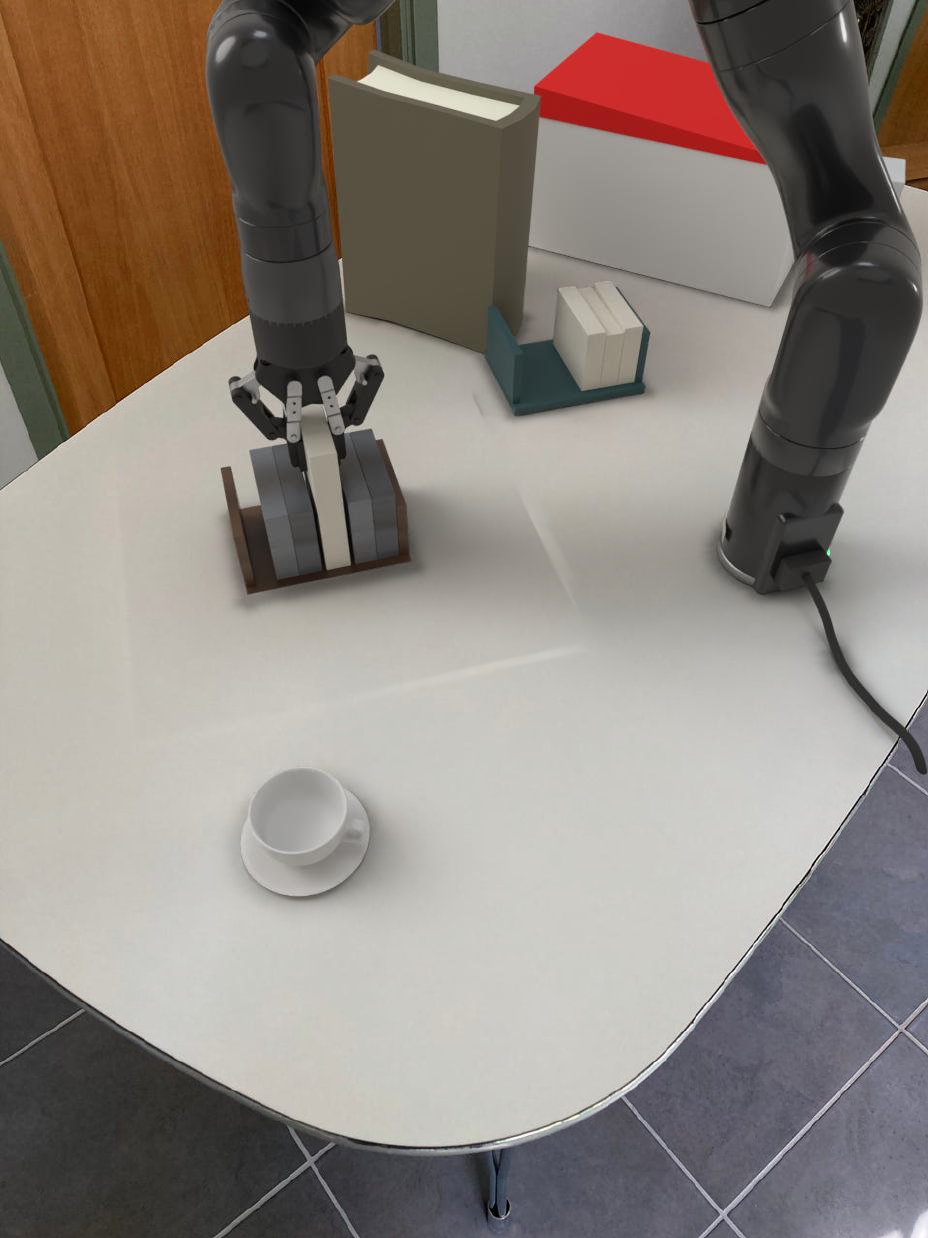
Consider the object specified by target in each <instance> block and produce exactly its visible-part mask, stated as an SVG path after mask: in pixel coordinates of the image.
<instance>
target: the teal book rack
mask: <svg viewBox="0 0 928 1238" xmlns="http://www.w3.org/2000/svg"><path fill="white" fill-rule="evenodd" d="M556 291H557V292H556V304H555V305H556V306H555V315H554V327H553V338H552V339H547V340H540V341H534V342H529V343H523V344H518V342H517V340H516V338H515V336H513V335H512V333H511V331H510V329H509V328H508V326H507V324H506V322H505V320H504V319H503V317H502V315H501V313H500V312H499V310H498V308H497V306H490V307H488V338H487V350H486V351H485V354H484V359H485V361H486V364H487V365H488V366H489V369H490V370H491V373H492V375H493V376H494V379H495V380H496V382H497V384H498V387H499V388H500V390H501V392H502V394H503V396H504V398H505V399H506V402H507V403H508V405H509V407H510V409H511V411H512V413H513V415H514V416H515V417H516V416H522V415H529V414H534V413H539V412H545V411H550V410H556V409H562V408H568V407H573V406H578V405H579V406H580V405H584V404H590V403H595V402H601V401H607V400H613V399H617V398H623V397H624V398H625V397H628V396H635V395H641V394H644V393H645V392H646V385H645V383H644V382H643V379H644V373H645V368H646V367H645V366H646V363H647V362H646V360H647V354H648V351H649V350H648V349H649V344H650V337H651V330H650V329H649V328H648V327H647V326H646V323H645V322H644V321H643V320H642V318H641V317H640V316H639V315H638V313H637V312H636V310H635V309H634V308H633V306H632V305H631V303H630V302H629V300H628V299H627V298H626V296H625V295H624V294H623V293H622V291H621V290H620V288H619V287H618V286H615V284H614V283H613V281H611V280H603V281H596V282H593V283H592V286H589V287H583V288H577V287H576V285H569V286H565V287H559V288H557V290H556Z"/></svg>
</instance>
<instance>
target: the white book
mask: <svg viewBox="0 0 928 1238" xmlns="http://www.w3.org/2000/svg"><path fill="white" fill-rule="evenodd" d="M301 435H302V439H303V443H304V450H305V456H306V462H307V468H308V471H306V472H303V475H304V479H305V483H306V487H307V490H308V494H309V498H310V502H311V505H312V509H313V514H314V521H315V527H316V532H317V536H318V539H319V543H320V547H321V551H322V554H323V558H324V562H325V566H326V569H327V570H330V569H335V568H340V567H345V566H350V565H351V561H350V553H349V545H348V537H347V529H346V521H345V513H344V506H343V498H342V490H341V482H340V474H339V466H338V458H337V452H336V449H335V445H334V442H333V439H332V436H331V432H330V429H329V426H328V423H327V415H326V412H325V409H324V406H323V404H310V405H308V406H305V407H303V408H302V421H301Z"/></svg>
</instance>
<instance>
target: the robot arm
mask: <svg viewBox="0 0 928 1238" xmlns="http://www.w3.org/2000/svg"><path fill="white" fill-rule="evenodd" d="M395 1H396V0H222V1H221V3H220V4H219V5H218V7H217V8H216V10H215V12H214V14H213V16H212V17H211V20H210V23H209V25H208V28H207V32H206V40H205V65H204V66H205V68H204V69H205V70H204V73H205V84H206V92H207V97H208V103H209V107H210V111H211V117H212V120H213V121H212V122H213V125H214V129H215V133H216V137H217V141H218V143H219V147H220V151H221V155H222V158H223V162H224V165H225V168H226V171H227V174H228V177H229V190H230V199H231V207H232V211H233V216H234V222H235V227H236V232H237V238H238V243H239V252H240V269H241V278H242V289H243V293H244V295H245V300H246V304H247V309H248V314H249V320H250V325H251V329H252V337H253V342H254V347H255V351H256V357H255V359H254V362H253V366H252V368H253V369H252V370H253V371H251V372H250V373H248V374H246V375H245V376H243V377H242V378H241V377H240V376H238V375H233V376H231V377H230V378H229V379H228V381H227V382H228V388H229V392H230V397H231V402H232V403H233V404H234V405H235V406H236V407H237V408H238V409H239V410H240V411H241V413H243V415H244V416H245V417H246V418H247V419H248V421H250V423H252V424H253V426H255V427H256V429H257V430H258V431H259V432H260V433H261V434H262V435H263V436H264V437H265V439H267V440H268V441H276V440H278V439H283V440H285V441H286V443H287V447H288V453H289V457H290V461H291V464H292V466H293V467H294V468H296V467H299V468H300V472H303V473H304V472H306V471H308V468H307V462H306V456H305V450H304V443H303V439H302V435H301V421H302V408H303V407H305V406H308V405H310V404H322V405H323V409H324V412H325V415H326V419H327V423H328V426H329V429H330V432H331V436H332V439H333V442H334V445H335V449H336V452H337V458H338V466H339V465H341V462H340V459H345V457H346V454H347V453H346V445H345V436H344V433H345V432H346V429H348V428H349V427H350V426H354V427H360V426H361V425H362V424H364V422H365V420H366V418H367V415H368V413H369V411H370V409H371V407H372V405H373V402H374V401H375V398H376V396H377V394H378V391H379V389H380V387H381V385H382V383H383V381H384V378H385V372H384V369H383V366H382V364H381V361H380V360H379V357H378V355H376V354H373V353H372V354H368V355H367V356H360V355H356V354H354V351H353V348H352V347H351V346H350V345H349V343H348V342H349V341H348V334H347V323H346V314H345V313H346V312H345V303H344V295H343V286H342V277H341V268H340V267H341V266H340V261H339V256H338V252H337V249H336V244H335V240H334V233H333V232H334V231H333V224H332V223H333V222H332V213H331V204H330V197H329V190H328V185H327V184H328V183H327V180H326V176H325V172H324V169H323V153H322V152H323V151H322V132H321V117H320V115H321V114H320V113H321V112H320V102H319V99H320V98H319V88H318V77H317V71H316V67H317V66H318V64H319V63H320V62H321V60H322V59H323V58H324V57H325V56H326V55H327V53H328V52H329V51H330V50H331V49H332V48H333V47H334V46H335V45H336V44H337V43H338V42H339V41H340V39H341V38H343V36H345V35H346V33H347V32H348V31H349V30H351V28H352V27H353V26H360V27H361V26H363V27H364V26H368V25H370V24H372V23H373V22H375V21H376V20H378V18H380V17H381V16H382V15H383V14H384V13H385V12H386V11H387V10H388V9H389V8H390V7H391V6H392V5H393V3H395ZM687 1H688V5H689V7H690V11H691V14H692V18H693V21H694V24H695V27H696V28H697V32H698V36H699V38H700V41H701V43H702V47H703V50H704V52H705V56H706V59H707V60H708V61H707V62H708V63H709V64H710V66H711V70H712V72H713V75H714V77H715V80H716V82H717V84H718V87H719V89H720V91H721V93H722V95H723V97H724V99H725V101H726V103H727V105H728V107H729V108H730V110H731V112H732V114H733V115H734V117H735V118H736V120H737V122H738V123H739V125H740V126H741V128H742V129H743V131H744V132H745V133H746V135H747V136H748V138H749V139H750V140H751V142H752V143H753V145H754V146H755V147H756V149H757V150H758V152H759V153H760V155H761V156H762V158H763V159H764V161H765V162H766V164H767V166H768V168H769V169H770V171H771V173H772V176H773V178H774V180H775V183H776V186H777V189H778V192H779V195H780V198H781V201H782V205H783V209H784V212H785V216H786V221H787V225H788V229H789V234H790V238H791V243H792V249H793V255H794V264H793V265H794V279H793V286H792V293H791V302H790V306H789V310H788V314H787V318H786V321H785V325H784V329H783V331H782V335H781V339H780V343H779V346H778V350H777V352H776V355H775V359H774V362H773V366H772V369H771V373H770V374H769V375H768V376H767V378H766V380H765V383H764V386H763V389H762V394H761V397H760V399H759V400H760V401H759V403H758V407H757V410H756V414H755V418H754V421H753V425H752V427H751V431H750V433H749V436H748V437H749V438H748V440H747V444H746V447H745V448H746V449H745V451H744V454H743V455H744V456H743V459H742V461H741V465H740V468H739V472H738V475H737V479H736V482H735V486H734V490H733V493H732V497H731V500H730V503H729V507H728V510H725V511H724V514H723V518H722V522H721V523H722V524H721V525H722V526H721V527H722V530H721V533H720V535H719V537H718V542H717V547H716V549H717V550H716V552H717V556H718V559H719V560H720V563H721V565H722V566H723V567H724V568H725V570H726V571H727V572H728V573H729V574H731V576H733V577H734V578H735V579H737V580H739V581H741V582H743V583H744V584H746V585H749V586H751V587H752V588H754V590H755V592H756V593H757V594H759V595H763V594H767V593H773V592H777V591H781V592H783V591H784V592H785V591H787V590H792V589H797V588H801V587H805V586H806V588H807V590H808V592H809V594H810V596H811V598H812V600H813V603H814V604H815V607H816V609H817V612H818V614H819V617H820V619H821V623H822V627H823V630H824V633H825V636H826V640H827V642H828V645H829V648H830V651H831V654H832V656H833V659H834V661H835V663H836V665H837V668H838V669H839V671H840V673H841V674H842V676H843V678H844V679H845V681H846V682H847V683H848V685H849V686H850V687H851V688H852V690H853V691H854V692H855V693H856V695H857V696H858V697H859V698H860V699H861V700H862V701H863V702H864V703H865V705H866V706H867V707H868V708H869V710H870V711H871V712H872V713H873V714H874V715H875V716H876V717H877V718H878V719H879V720H880V721H881V722H882V723H884V724H885V725H886V726H887V727H888V728H889V729H891V730H892V731H893V732H894V733H895V734H896V735H897V736H898V737H899V738H900V739H901V740H902V741H903V743H904V744H905V745H906V747H907V749H908V750H909V752H910V755H911V757H912V759H913V762H914V766H915V769H916V772H918V774H920V775H923V776H926V775H927V774H928V767H927V762H926V759H925V756H924V754H923V753H924V752H923V751H922V749H921V747H920V744H919V743H918V741H917V740H916V738H915V737H914V736H913V735H912V733H910V732H909V730H908V729H907V728H906V727H905V726H904V725H902V724H901V722H899V721H898V720H897V719H896V718H894V716H892V715H891V714H890V713H889V712H888V711H887V710H885V708H884V707H882V706H881V704H879V702H878V701H877V700H876V699H875V698H874V697H873V695H872V694H871V693H870V692H869V691H868V689H867V688H866V687H865V686H864V685H863V684H862V682H860V681H859V679H858V678H857V676H856V675H855V673H854V672H853V670H852V669H851V667H850V665H849V664H848V662H847V660H846V658H845V656H844V654H843V651H842V648H841V646H840V643H839V640H838V637H837V635H836V631H835V627H834V624H833V620H832V617H831V615H830V611H829V609H828V606H827V605H826V602H825V600H824V597H823V596H822V594H821V592H820V589H819V588H818V586H817V584H819V583H823V582H824V580H825V578H826V576H827V574H828V571H829V569H830V566H831V564H832V562H833V561H832V558H831V557H830V554H831V551H830V547H831V545H832V542H833V540H834V538H835V535H836V534H837V533H836V532H837V530H838V528H839V525H840V523H841V521H842V518H843V517H844V514H845V509H844V507H842V505H841V503H840V501H841V498H842V496H843V494H844V491H845V489H846V486H847V483H848V481H849V479H850V476H851V474H852V471H853V469H854V466H855V464H856V461H857V459H858V457H859V454H860V452H861V449H862V447H863V444H864V442H865V439H866V437H867V434H868V432H869V431H870V428H871V426H872V423H873V421H874V420H875V419H876V418H877V417H878V416H879V415H880V413H881V412H882V411H883V409H884V408H885V406H886V404H887V402H888V400H889V398H890V395H891V393H892V391H893V388H894V386H895V384H896V382H897V380H898V377H899V376H900V373H901V371H902V368H903V367H904V364H905V362H906V360H907V358H908V355H909V353H910V350H911V348H912V345H913V344H914V341H915V337H916V336H917V332H918V330H919V326H920V324H921V320H922V316H923V311H924V288H923V287H924V286H923V263H922V258H921V250H920V247H919V244H918V242H917V239H916V237H915V234H914V232H913V229H912V227H911V224H910V223H909V220H908V217H907V215H906V212H905V211H904V208H903V206H902V203H901V201H900V199H899V198H898V196H897V194H896V191H895V189H894V186H893V183H892V181H891V178H890V175H889V173H888V170H887V167H886V165H885V162H884V159H883V157H884V156H883V153H882V151H881V148H880V145H879V141H878V138H877V134H876V130H875V125H874V117H873V111H872V103H871V102H872V101H871V95H870V94H871V93H870V87H869V86H870V85H869V76H868V71H867V65H866V59H865V58H866V57H865V52H864V47H863V41H862V37H861V32H860V28H859V27H860V26H859V22H858V18H857V11H856V7H855V3H854V0H687ZM352 373H353V375H354V377H355V381H354V383H353V386H352V388H351V390H350V392H349V394H348V397H347V398H346V401H345V404H344V405H342V406H340V404H339V401H338V397H337V395H338V394H339V393H340V391H341V389H342V388H343V386H344V385H345V383H346V382H347V380H348V379H349V377H350V376H351V374H352ZM260 387H262V388H264V389H265V390H267V391H268V393H270V394H271V395H272V396H274V397H275V398H276V399H277V400H278V401H280V402H281V406H282V407H281V408H282V409H281V410H282V411H281V412H282V417H281V416H276V415H275V414H274V413H273V412H272V411H271V410H270V409H269V408H268V406H267V405H266V404H265V403H264V402H263V401H262V399H261V393H260ZM907 731H908V732H907Z"/></svg>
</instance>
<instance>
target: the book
mask: <svg viewBox="0 0 928 1238" xmlns="http://www.w3.org/2000/svg"><path fill="white" fill-rule="evenodd" d="M367 63H368V64H367V65H368V66H367V67H368V74H367V75H366V76H364V77H363V78H362V79H359V80H353V79H350V78H348V77H344V76H342V75H339V74H337V73H334V74H332V75H331V76H329V77H328V78H327V82H328V84H327V85H328V95H329V109H330V121H331V133H332V134H331V135H332V137H331V138H332V148H333V150H332V151H333V161H334V175H335V188H336V202H337V213H338V214H337V215H338V226H339V238H340V239H339V240H340V254H341V266H342V267H341V268H342V278H343V292H344V308H345V313H348V314H349V313H350V314H354V315H359V316H364V317H369V318H375V319H379V320H385V321H389V322H392V323H394V324H398V325H402V326H404V327H407V328H410V329H413V330H416V331H419V332H422V333H425V334H428V335H431V336H434V337H437V338H440V339H443V340H446V341H449V342H450V343H454V344H457V345H459V346H462V347H465V348H467V349H470V350H473V351H476V352H478V353H481V354H483V355H485V351H486V350H487V338H488V307H490V306H497V308H498V310H499V312H500V313H501V315H502V317H503V319H504V320H505V322H506V324H507V326H508V328H509V329H510V331H511V333H512V335H513V336H514V337H515V336H516V335H517V333H518V332H519V330H520V326H521V323H522V321H523V316H524V304H525V291H526V280H527V268H528V259H529V257H528V256H529V247H530V246H529V234H530V222H531V210H532V198H533V186H534V174H535V162H536V151H537V139H538V127H539V115H540V103H541V96H539V95H534V93H530V92H525V91H520V90H516V89H510V88H507V87H502V86H497V85H494V84H490V83H485V82H479V81H475V80H471V79H468V78H463V77H460V76H455V75H451V74H447V73H443V72H439V71H436V70H435V71H434V70H431V69H426V68H422V67H420V66H417V65H416V64H412V63H410V62H407V61H405V60H402V59H400V58H397V57H394V56H393V55H390V54H387V53H384V52H382V51H380V50H377V49H372V50H371V51H369V52H367Z"/></svg>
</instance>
